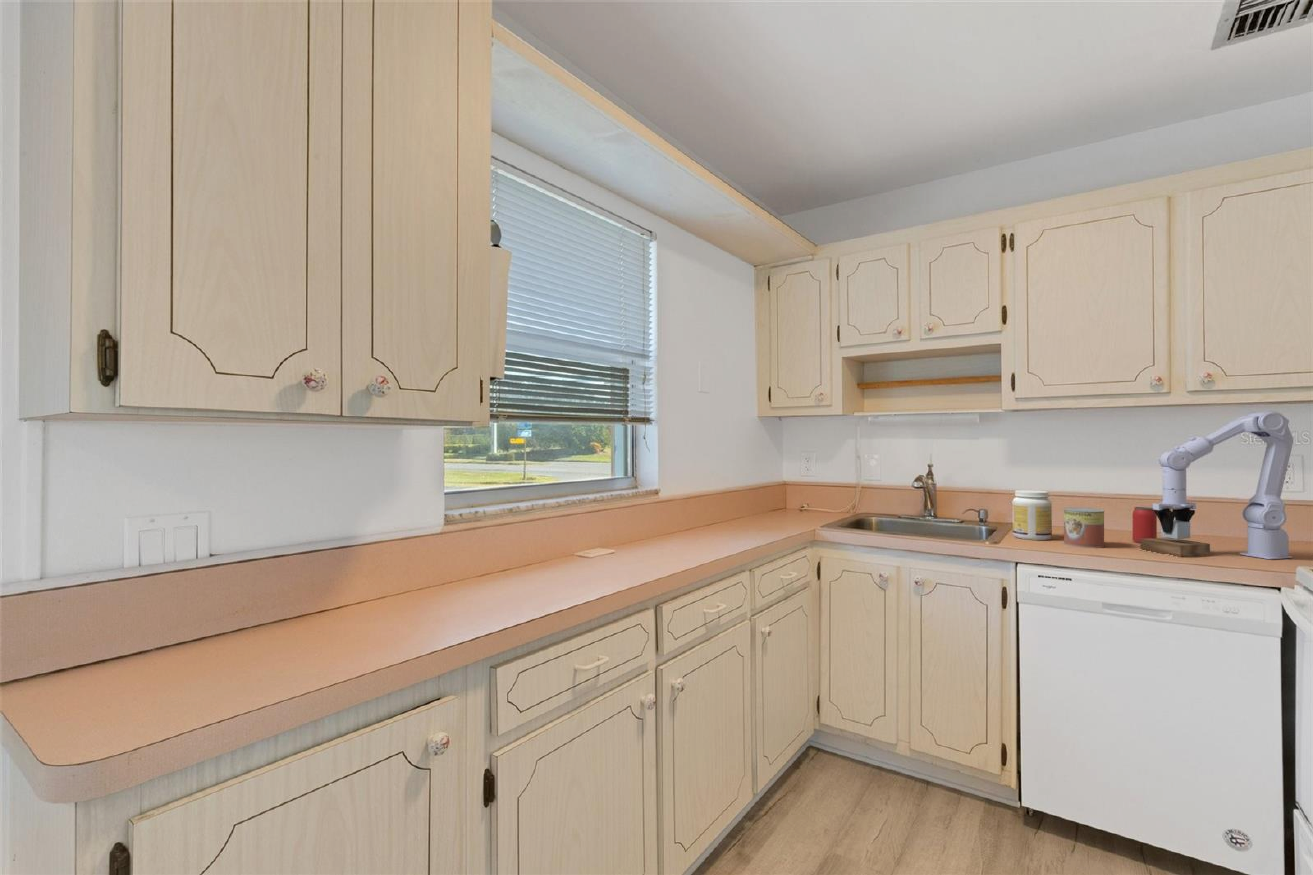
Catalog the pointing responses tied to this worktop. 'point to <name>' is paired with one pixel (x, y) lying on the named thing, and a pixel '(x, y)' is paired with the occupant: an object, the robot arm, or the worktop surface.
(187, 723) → the worktop surface
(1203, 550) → the walnut block
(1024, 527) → the supplement tub
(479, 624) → the worktop surface
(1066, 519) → the canned food
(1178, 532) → the slate cube
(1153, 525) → the beer can
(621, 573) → the worktop surface
